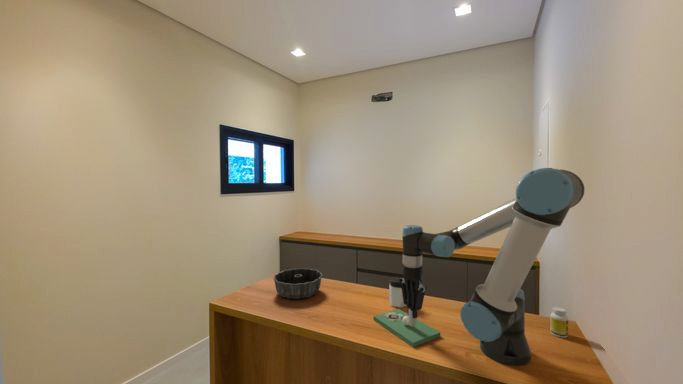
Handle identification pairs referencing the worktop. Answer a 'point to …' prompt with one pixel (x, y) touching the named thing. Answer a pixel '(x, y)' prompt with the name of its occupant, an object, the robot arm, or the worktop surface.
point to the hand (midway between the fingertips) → (412, 324)
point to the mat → (406, 328)
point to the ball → (405, 320)
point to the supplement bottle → (559, 322)
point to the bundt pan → (298, 283)
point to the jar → (396, 293)
